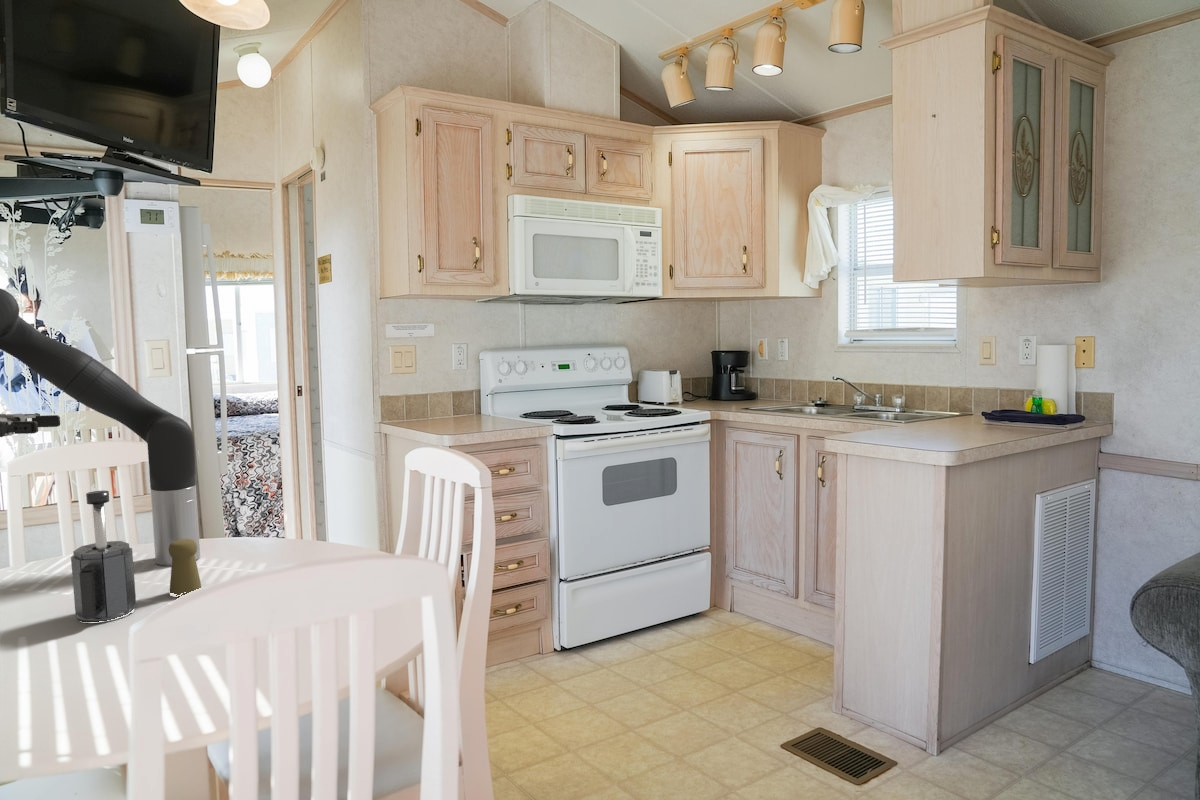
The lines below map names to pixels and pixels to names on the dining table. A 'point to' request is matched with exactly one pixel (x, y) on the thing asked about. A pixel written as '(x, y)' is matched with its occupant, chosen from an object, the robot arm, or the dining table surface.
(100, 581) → the coffee press
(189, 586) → the cork
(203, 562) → the dining table surface
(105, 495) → the plunger
